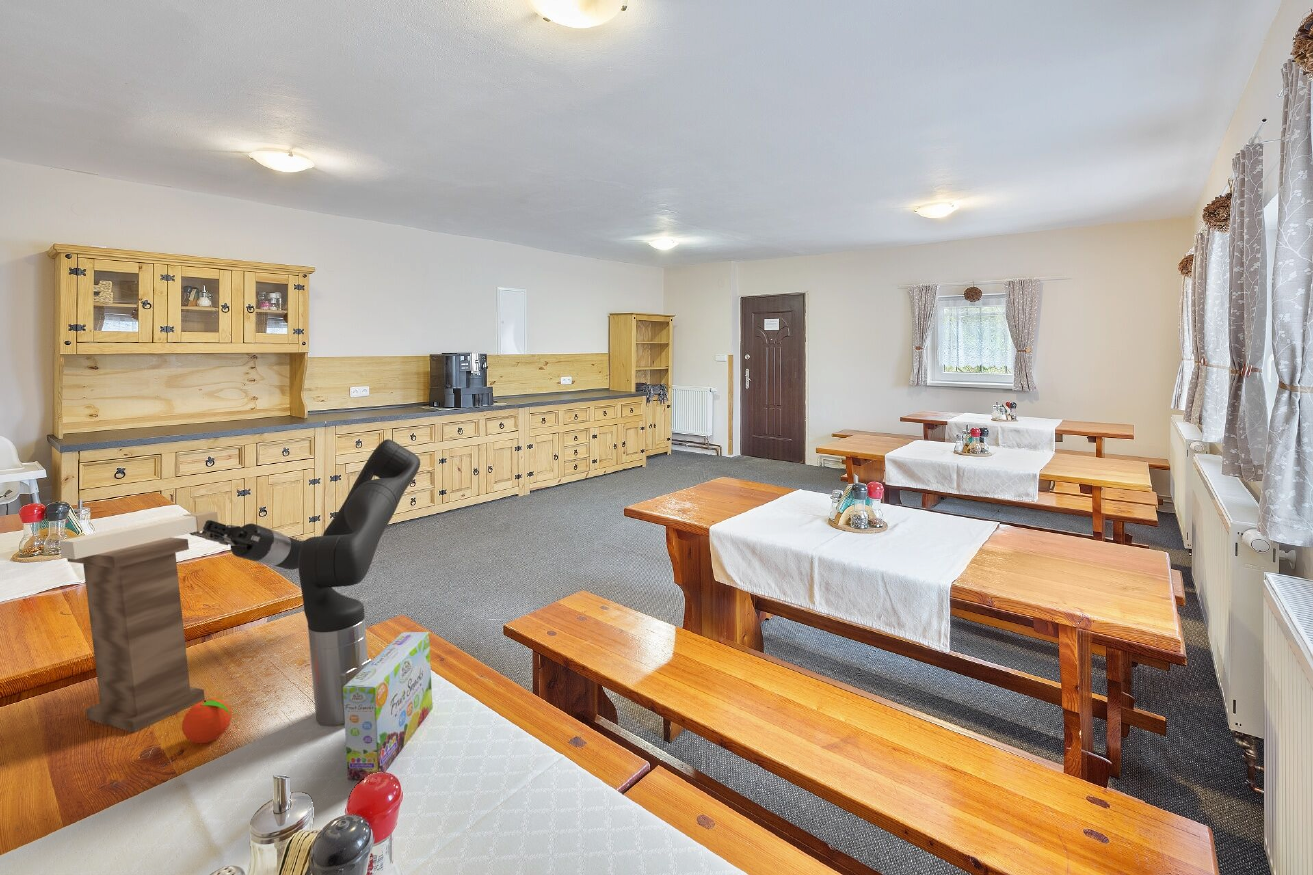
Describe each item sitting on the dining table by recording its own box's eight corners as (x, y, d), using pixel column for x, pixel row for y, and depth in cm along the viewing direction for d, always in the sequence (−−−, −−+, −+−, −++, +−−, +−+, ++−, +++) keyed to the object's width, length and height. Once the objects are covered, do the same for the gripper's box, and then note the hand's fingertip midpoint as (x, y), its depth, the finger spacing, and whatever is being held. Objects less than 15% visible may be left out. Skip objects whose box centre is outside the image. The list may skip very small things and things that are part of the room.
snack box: (382, 781, 94) (375, 686, 92) (346, 782, 94) (338, 687, 92) (435, 707, 115) (430, 629, 113) (405, 708, 115) (400, 630, 114)
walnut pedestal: (204, 699, 120) (187, 539, 117) (134, 732, 109) (113, 556, 106) (159, 688, 126) (141, 534, 123) (87, 719, 114) (66, 550, 111)
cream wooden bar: (218, 527, 128) (217, 511, 127) (75, 559, 105) (73, 541, 105) (205, 525, 129) (203, 510, 129) (61, 558, 107) (58, 539, 107)
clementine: (248, 729, 109) (245, 690, 109) (217, 752, 102) (213, 712, 102) (207, 728, 110) (203, 689, 109) (173, 751, 103) (168, 710, 103)
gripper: (246, 527, 142) (177, 504, 129) (290, 530, 137) (223, 507, 124) (233, 559, 140) (160, 539, 126) (277, 564, 134) (207, 544, 121)
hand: (191, 523), depth 125 cm, fingers open, 8 cm apart
